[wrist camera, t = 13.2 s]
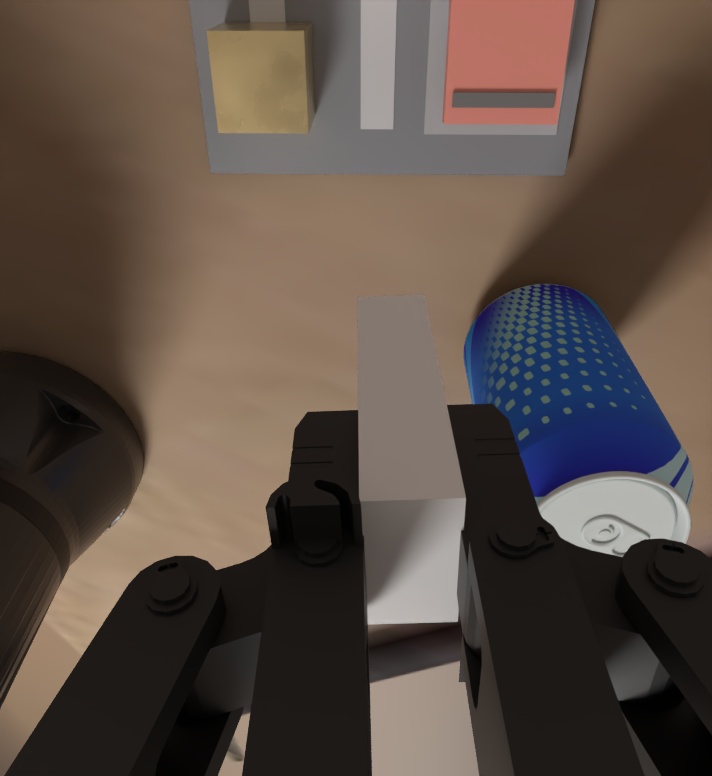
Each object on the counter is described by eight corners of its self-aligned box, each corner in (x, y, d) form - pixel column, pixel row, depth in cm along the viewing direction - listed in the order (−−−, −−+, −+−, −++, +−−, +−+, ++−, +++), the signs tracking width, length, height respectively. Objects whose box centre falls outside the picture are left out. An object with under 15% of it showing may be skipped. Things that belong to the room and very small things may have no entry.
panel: (214, 167, 34) (205, 180, 33) (171, -184, 27) (156, -193, 25) (560, 170, 34) (570, 183, 32) (620, -189, 26) (638, -198, 24)
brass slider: (233, 115, 32) (218, 133, 29) (223, 22, 30) (206, 30, 27) (315, 116, 32) (308, 133, 29) (311, 22, 30) (303, 30, 27)
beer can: (479, 409, 43) (522, 619, 29) (445, 298, 38) (478, 486, 25) (612, 374, 41) (721, 582, 28) (592, 254, 36) (710, 433, 23)
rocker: (442, 121, 30) (444, 124, 29) (454, -94, 26) (457, -99, 25) (552, 121, 30) (558, 125, 29) (581, -95, 26) (589, -100, 25)
